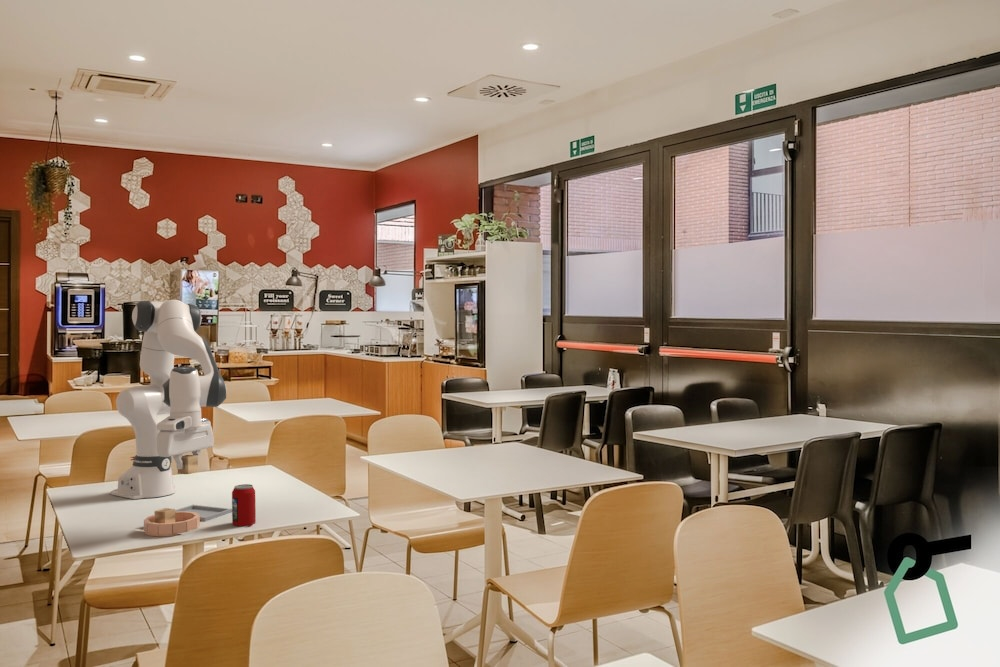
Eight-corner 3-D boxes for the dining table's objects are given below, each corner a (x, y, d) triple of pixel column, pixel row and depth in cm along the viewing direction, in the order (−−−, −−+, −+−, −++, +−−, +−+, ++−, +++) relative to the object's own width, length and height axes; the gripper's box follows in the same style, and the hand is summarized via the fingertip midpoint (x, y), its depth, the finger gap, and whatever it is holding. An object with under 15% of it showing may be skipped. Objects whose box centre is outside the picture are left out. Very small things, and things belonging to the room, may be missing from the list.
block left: (154, 527, 241) (154, 511, 241) (165, 524, 245) (164, 508, 245) (165, 529, 240) (164, 512, 240) (175, 525, 243) (175, 509, 243)
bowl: (133, 533, 237) (133, 521, 237) (171, 521, 251) (171, 509, 251) (172, 538, 232) (172, 526, 231) (209, 525, 245) (209, 513, 245)
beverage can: (235, 522, 249) (234, 484, 248) (257, 522, 249) (257, 483, 249) (229, 528, 242) (229, 488, 242) (253, 528, 242) (252, 488, 242)
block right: (177, 473, 241) (177, 457, 241) (187, 471, 245) (186, 454, 245) (188, 474, 240) (187, 457, 240) (198, 471, 244) (197, 455, 244)
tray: (165, 518, 255) (165, 513, 255) (193, 509, 266) (193, 504, 266) (205, 523, 249) (205, 517, 249) (232, 513, 260) (232, 508, 260)
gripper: (201, 416, 253) (203, 460, 253) (152, 425, 234) (153, 472, 234) (218, 417, 251) (219, 461, 251) (169, 425, 232) (171, 473, 232)
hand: (187, 467), depth 242 cm, fingers closed on block right, 4 cm apart
